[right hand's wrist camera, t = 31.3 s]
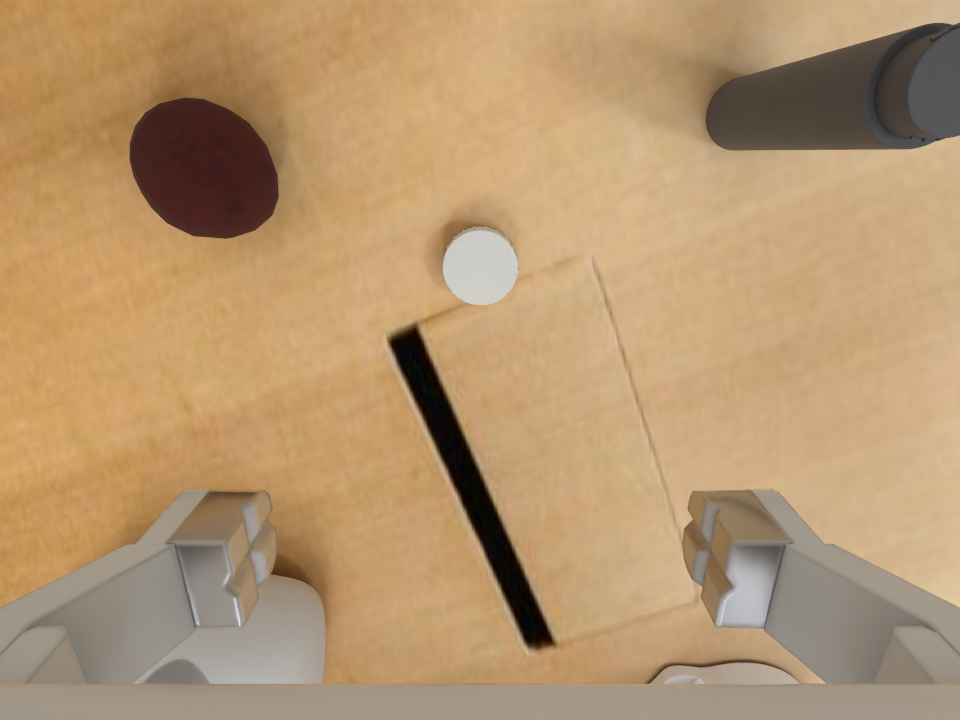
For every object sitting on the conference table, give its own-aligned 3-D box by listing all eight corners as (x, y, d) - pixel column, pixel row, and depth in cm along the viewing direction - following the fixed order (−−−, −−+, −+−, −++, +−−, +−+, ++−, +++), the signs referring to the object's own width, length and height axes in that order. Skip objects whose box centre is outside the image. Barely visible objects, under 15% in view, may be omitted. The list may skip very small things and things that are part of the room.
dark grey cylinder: (784, 123, 33) (1040, 100, 18) (723, 163, 34) (919, 173, 19) (756, 62, 32) (1005, -19, 17) (694, 105, 33) (878, 65, 18)
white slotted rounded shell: (62, 633, 48) (-105, 826, 34) (223, 485, 42) (100, 644, 29) (258, 757, 54) (182, 963, 40) (422, 640, 48) (399, 834, 34)
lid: (427, 261, 36) (425, 267, 34) (481, 208, 35) (481, 211, 33) (478, 313, 37) (478, 321, 36) (532, 264, 36) (535, 269, 34)
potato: (209, 76, 32) (139, 57, 25) (318, 166, 34) (280, 169, 27) (150, 177, 34) (71, 183, 27) (256, 256, 36) (206, 280, 29)
